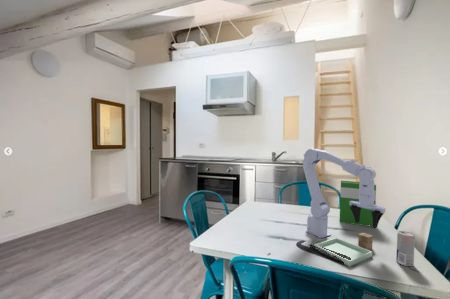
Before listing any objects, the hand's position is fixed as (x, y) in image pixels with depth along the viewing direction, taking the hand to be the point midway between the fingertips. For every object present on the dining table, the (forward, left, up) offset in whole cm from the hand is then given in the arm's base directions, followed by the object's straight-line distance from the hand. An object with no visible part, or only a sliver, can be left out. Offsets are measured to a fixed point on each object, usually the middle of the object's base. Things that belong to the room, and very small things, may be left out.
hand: (366, 224), depth 102 cm
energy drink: (+15, 0, -11) cm, 18 cm away
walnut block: (0, 0, -11) cm, 11 cm away
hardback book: (-21, +30, -11) cm, 38 cm away
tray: (-2, -14, -11) cm, 18 cm away
